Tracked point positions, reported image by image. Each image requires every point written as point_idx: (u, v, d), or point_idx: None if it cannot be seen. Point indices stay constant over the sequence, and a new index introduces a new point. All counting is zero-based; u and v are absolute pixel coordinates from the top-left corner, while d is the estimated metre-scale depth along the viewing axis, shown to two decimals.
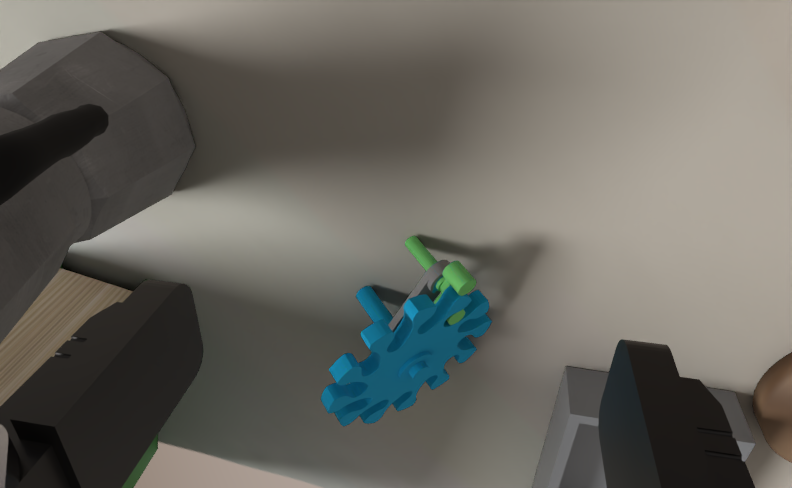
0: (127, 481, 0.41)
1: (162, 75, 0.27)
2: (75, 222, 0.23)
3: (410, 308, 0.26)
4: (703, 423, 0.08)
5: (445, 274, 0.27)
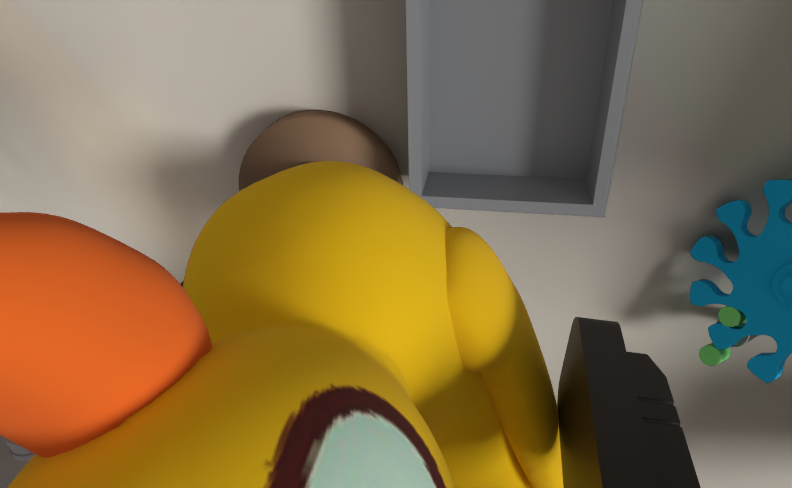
0: None
1: None
2: None
3: (773, 379, 0.28)
4: (646, 393, 0.09)
5: (727, 358, 0.30)
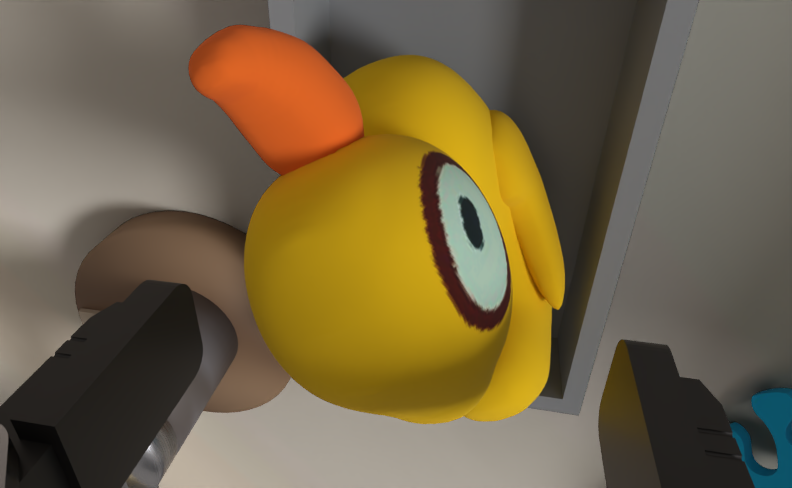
0: None
1: None
2: None
3: None
4: (703, 423, 0.08)
5: None
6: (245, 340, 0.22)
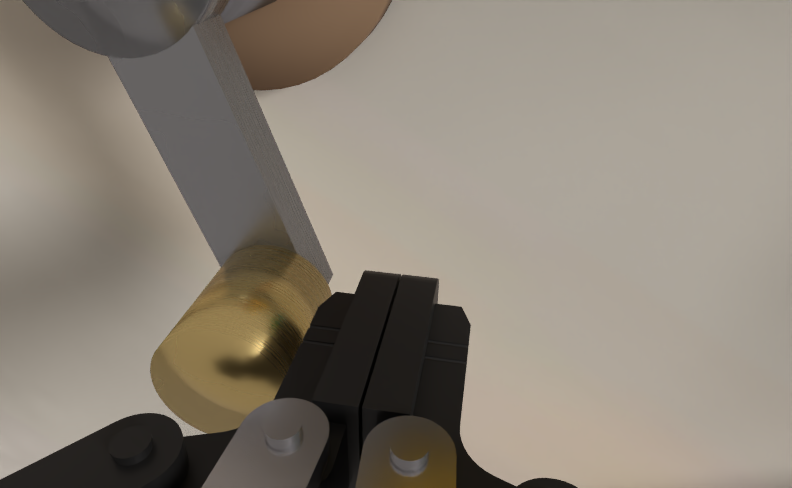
0: None
1: None
2: None
3: None
4: (446, 338, 0.10)
5: None
6: None
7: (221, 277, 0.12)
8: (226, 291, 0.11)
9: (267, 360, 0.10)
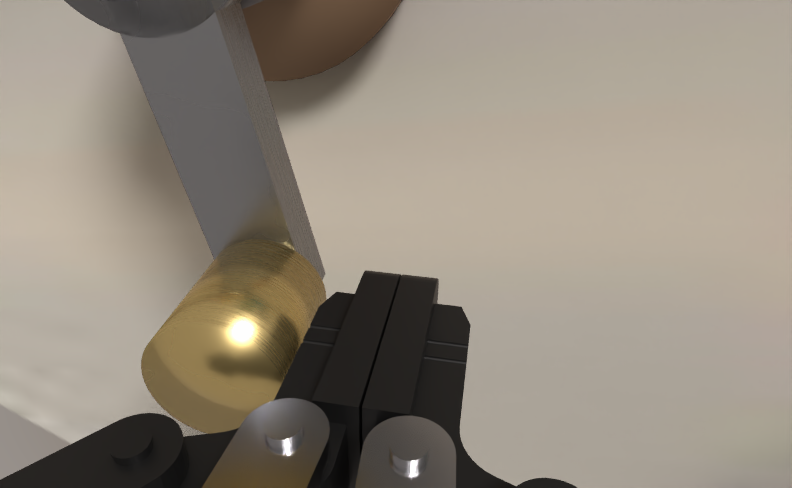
0: None
1: None
2: None
3: None
4: (446, 338, 0.10)
5: None
6: None
7: (218, 269, 0.12)
8: (225, 284, 0.11)
9: (267, 358, 0.10)
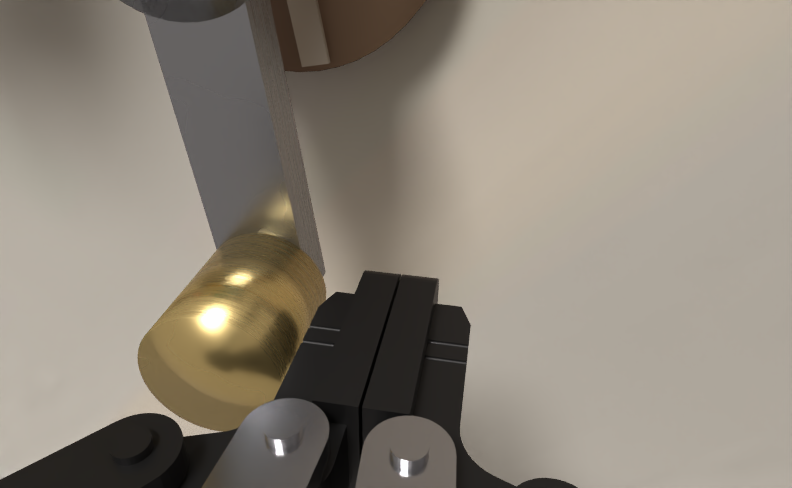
0: None
1: None
2: None
3: None
4: (446, 338, 0.10)
5: None
6: None
7: (223, 261, 0.12)
8: (230, 278, 0.11)
9: (268, 357, 0.10)
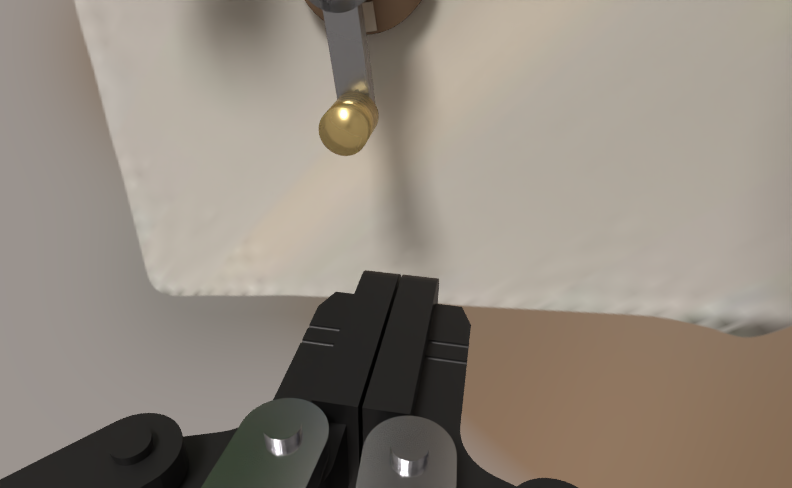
0: None
1: None
2: None
3: None
4: (447, 338, 0.10)
5: None
6: None
7: (344, 98, 0.33)
8: (348, 100, 0.32)
9: (363, 122, 0.32)
